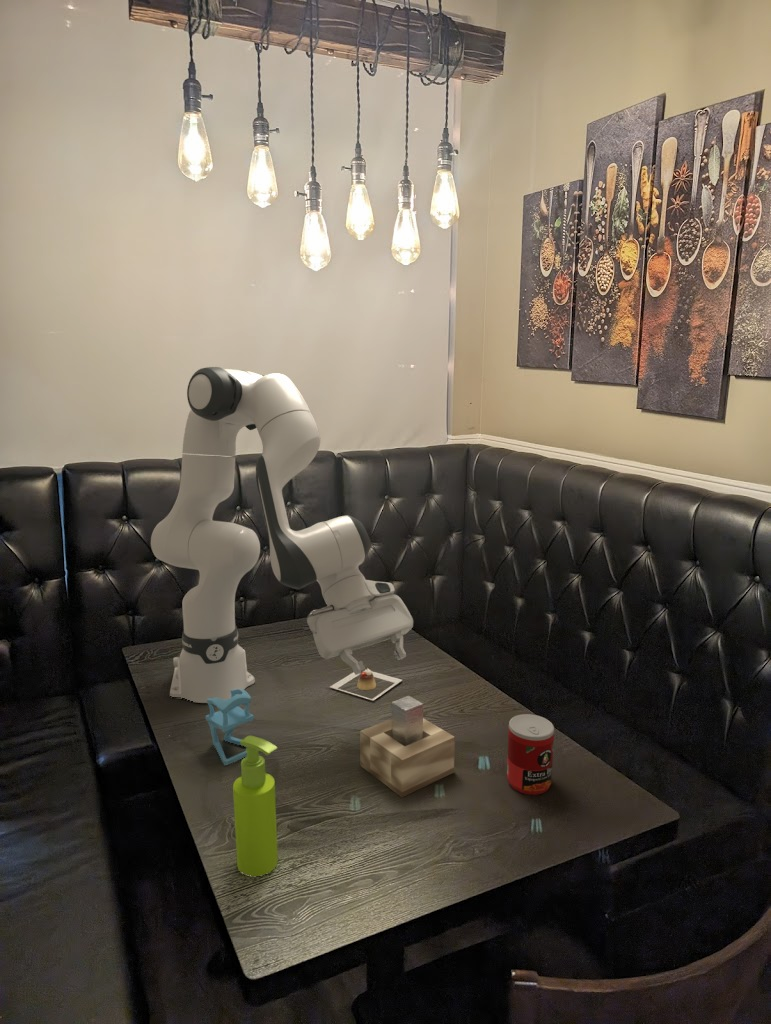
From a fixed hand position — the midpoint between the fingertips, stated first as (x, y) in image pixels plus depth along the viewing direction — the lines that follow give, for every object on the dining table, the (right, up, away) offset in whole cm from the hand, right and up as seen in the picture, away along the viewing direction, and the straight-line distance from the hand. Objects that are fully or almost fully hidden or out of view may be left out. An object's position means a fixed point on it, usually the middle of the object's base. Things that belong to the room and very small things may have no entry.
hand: (381, 665), depth 129 cm
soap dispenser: (-18, -24, -26) cm, 39 cm away
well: (+5, -18, -2) cm, 19 cm away
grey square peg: (+5, -17, -2) cm, 18 cm away
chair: (-29, -17, +5) cm, 34 cm away
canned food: (+26, -19, -6) cm, 33 cm away
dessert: (-4, -12, +31) cm, 34 cm away
